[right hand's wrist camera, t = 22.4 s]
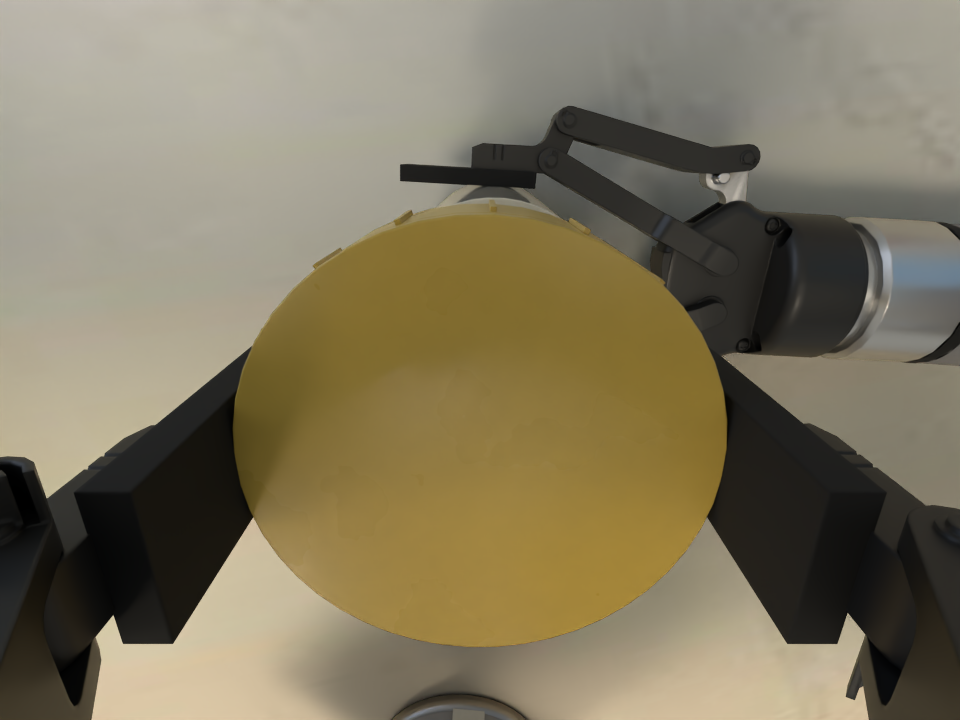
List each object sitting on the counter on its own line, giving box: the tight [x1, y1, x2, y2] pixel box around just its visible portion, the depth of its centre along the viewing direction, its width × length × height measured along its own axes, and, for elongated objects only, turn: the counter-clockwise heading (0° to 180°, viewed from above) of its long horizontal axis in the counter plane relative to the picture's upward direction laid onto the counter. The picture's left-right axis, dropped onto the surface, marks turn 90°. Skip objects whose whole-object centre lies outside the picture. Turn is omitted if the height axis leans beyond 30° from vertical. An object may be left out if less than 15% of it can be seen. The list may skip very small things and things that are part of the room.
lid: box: [233, 200, 727, 647], centre depth 11 cm, size 9×10×2 cm
